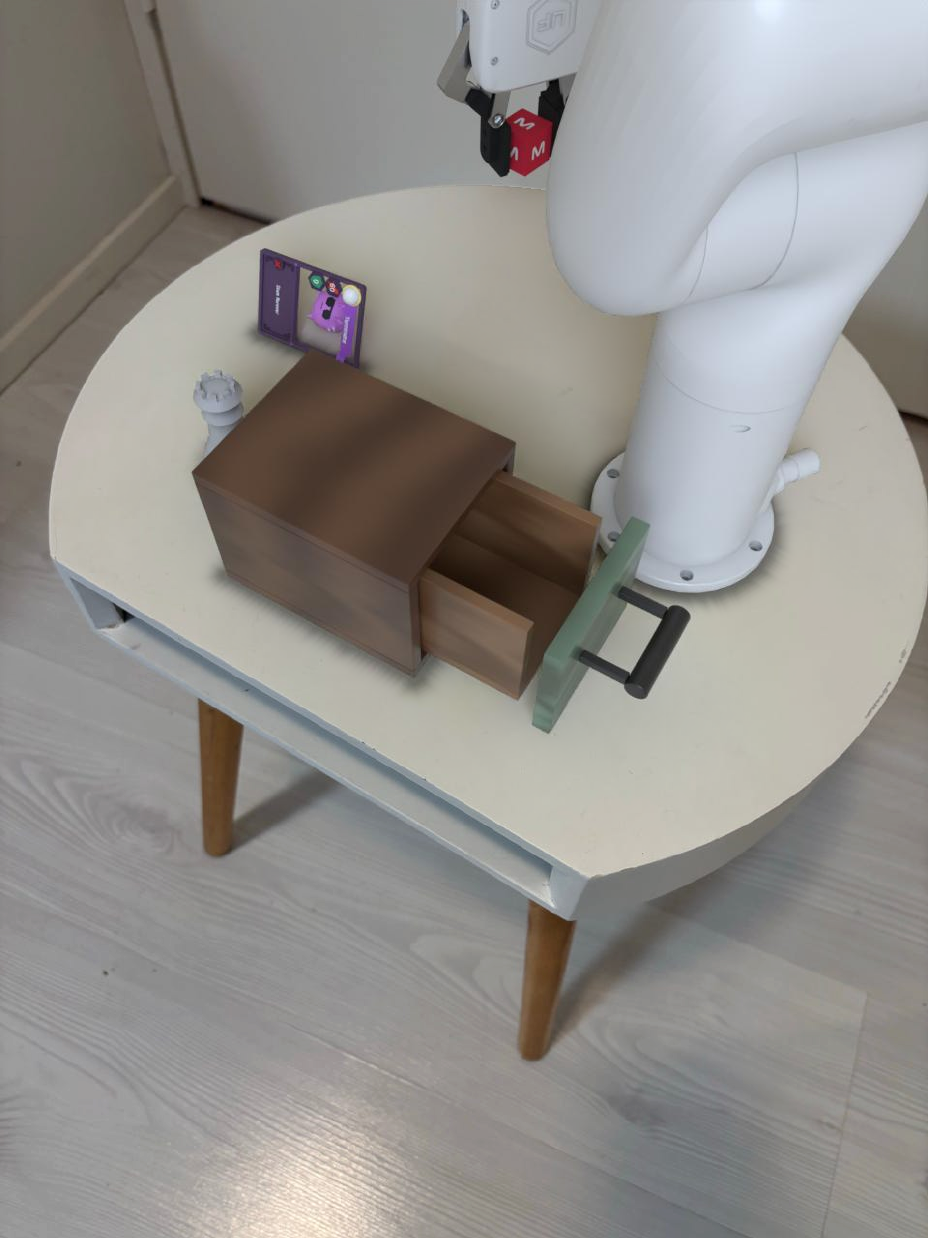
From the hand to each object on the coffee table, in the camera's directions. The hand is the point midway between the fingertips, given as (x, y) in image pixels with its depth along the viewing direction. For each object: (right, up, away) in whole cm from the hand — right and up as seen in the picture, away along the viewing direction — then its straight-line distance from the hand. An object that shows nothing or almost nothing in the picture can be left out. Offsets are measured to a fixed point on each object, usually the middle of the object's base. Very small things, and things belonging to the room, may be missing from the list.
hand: (522, 156), depth 75 cm
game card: (-16, -13, +2) cm, 21 cm away
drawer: (-1, -37, -13) cm, 39 cm away
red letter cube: (0, 0, 0) cm, 0 cm away
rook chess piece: (-21, -25, -5) cm, 33 cm away
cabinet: (-11, -32, -9) cm, 35 cm away
